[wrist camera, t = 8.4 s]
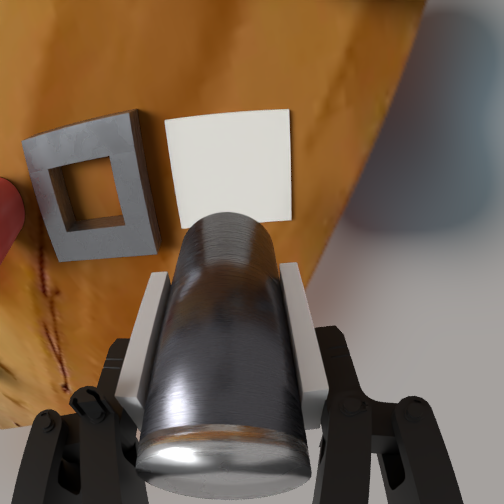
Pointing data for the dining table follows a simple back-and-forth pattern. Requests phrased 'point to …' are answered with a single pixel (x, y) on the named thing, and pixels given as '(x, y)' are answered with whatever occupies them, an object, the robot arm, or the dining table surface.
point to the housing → (126, 179)
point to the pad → (231, 164)
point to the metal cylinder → (224, 373)
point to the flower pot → (9, 216)
